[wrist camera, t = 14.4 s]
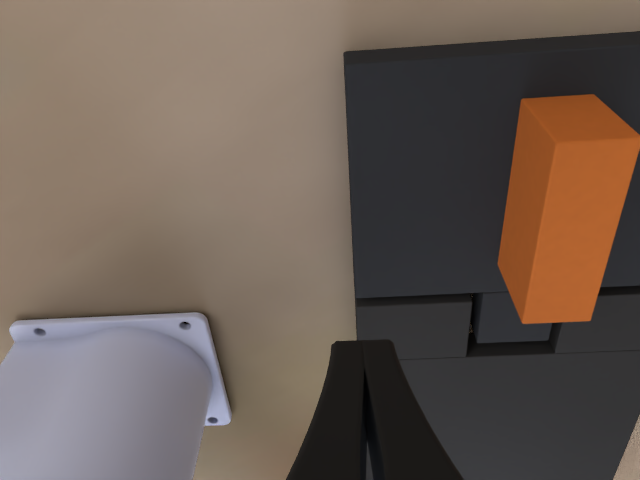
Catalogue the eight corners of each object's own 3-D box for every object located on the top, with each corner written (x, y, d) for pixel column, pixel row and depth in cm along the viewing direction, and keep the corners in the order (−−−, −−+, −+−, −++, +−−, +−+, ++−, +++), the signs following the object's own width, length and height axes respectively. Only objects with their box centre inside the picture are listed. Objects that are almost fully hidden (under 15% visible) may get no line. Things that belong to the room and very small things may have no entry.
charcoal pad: (356, 325, 26) (361, 411, 22) (343, 51, 19) (347, 104, 15) (655, 312, 26) (718, 399, 21) (764, 21, 18) (891, 70, 14)
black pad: (362, 464, 33) (364, 488, 32) (354, 284, 25) (355, 306, 24) (601, 457, 32) (612, 481, 31) (672, 269, 24) (690, 291, 23)
